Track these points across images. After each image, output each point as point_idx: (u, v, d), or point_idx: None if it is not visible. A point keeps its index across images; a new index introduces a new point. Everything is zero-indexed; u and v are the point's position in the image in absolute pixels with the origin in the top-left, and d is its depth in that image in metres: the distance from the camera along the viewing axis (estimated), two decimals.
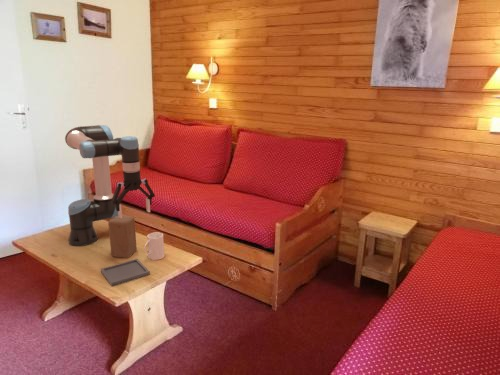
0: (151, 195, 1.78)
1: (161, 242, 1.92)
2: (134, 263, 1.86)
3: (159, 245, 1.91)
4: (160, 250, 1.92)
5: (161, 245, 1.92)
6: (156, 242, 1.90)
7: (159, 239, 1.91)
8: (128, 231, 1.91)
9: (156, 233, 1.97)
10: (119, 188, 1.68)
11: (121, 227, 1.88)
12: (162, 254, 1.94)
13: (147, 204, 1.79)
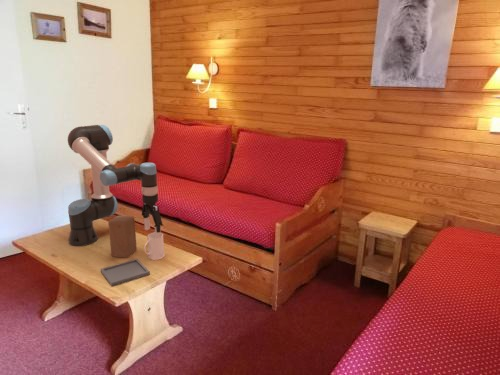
0: None
1: (161, 242, 1.92)
2: (134, 263, 1.86)
3: (159, 245, 1.91)
4: (160, 250, 1.92)
5: (161, 245, 1.92)
6: (156, 242, 1.90)
7: (159, 239, 1.91)
8: (128, 231, 1.91)
9: None
10: (143, 205, 1.92)
11: (121, 227, 1.88)
12: (162, 254, 1.94)
13: None
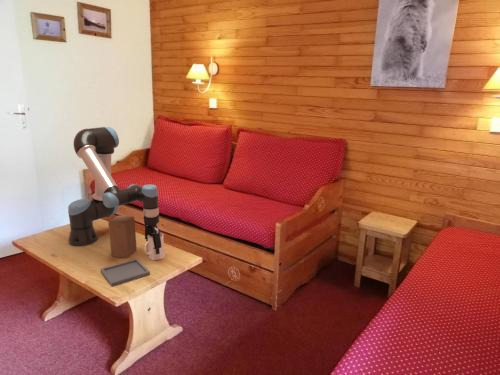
0: None
1: (161, 242, 1.92)
2: (134, 263, 1.86)
3: None
4: (160, 250, 1.92)
5: (161, 245, 1.92)
6: None
7: None
8: (128, 231, 1.91)
9: None
10: (145, 227, 1.95)
11: (121, 227, 1.88)
12: (162, 254, 1.94)
13: None
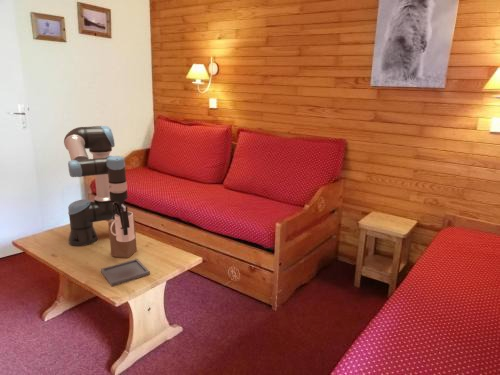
0: None
1: (130, 222, 1.70)
2: (134, 263, 1.86)
3: None
4: (129, 231, 1.71)
5: (130, 225, 1.70)
6: None
7: (128, 218, 1.69)
8: None
9: None
10: (112, 205, 1.73)
11: None
12: (132, 236, 1.72)
13: None
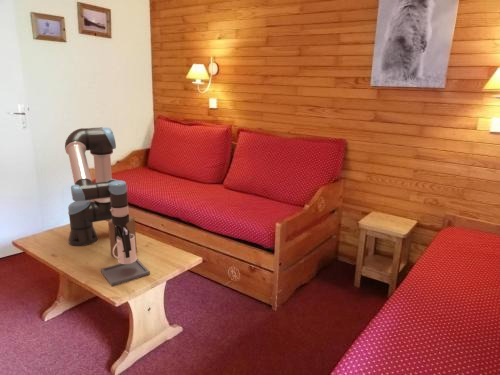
0: None
1: (132, 244, 1.73)
2: (134, 263, 1.86)
3: None
4: (131, 253, 1.74)
5: (132, 248, 1.74)
6: None
7: None
8: None
9: None
10: (114, 227, 1.76)
11: None
12: (133, 258, 1.75)
13: None
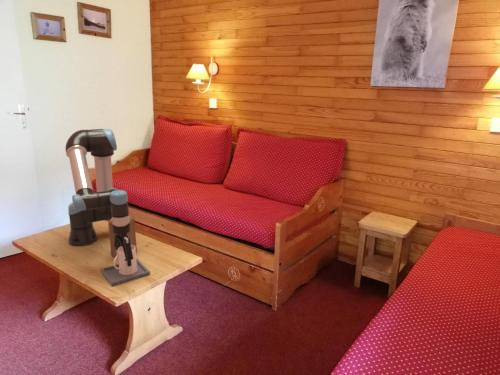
0: None
1: (133, 256, 1.75)
2: None
3: None
4: (132, 264, 1.75)
5: (133, 259, 1.75)
6: None
7: None
8: None
9: None
10: (115, 235, 1.77)
11: None
12: (134, 269, 1.77)
13: None
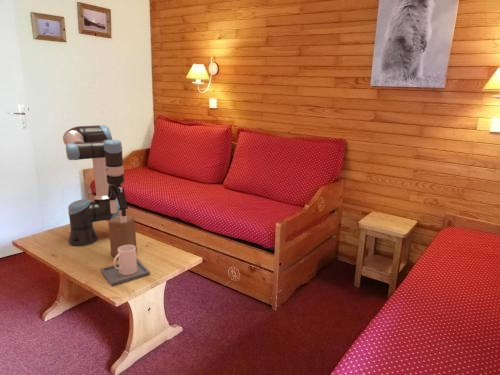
0: None
1: (133, 256, 1.75)
2: None
3: (130, 259, 1.74)
4: (132, 264, 1.75)
5: (133, 259, 1.75)
6: (127, 256, 1.73)
7: (130, 253, 1.73)
8: (128, 231, 1.91)
9: (128, 245, 1.79)
10: (109, 186, 1.76)
11: (121, 227, 1.88)
12: (134, 269, 1.77)
13: None
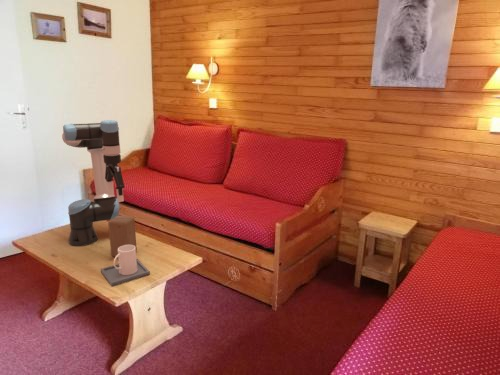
0: None
1: (133, 256, 1.75)
2: None
3: (130, 259, 1.74)
4: (132, 264, 1.75)
5: (133, 259, 1.75)
6: (127, 256, 1.73)
7: (130, 253, 1.73)
8: (128, 231, 1.91)
9: (128, 245, 1.79)
10: (106, 167, 1.79)
11: (121, 227, 1.88)
12: (134, 269, 1.77)
13: None
